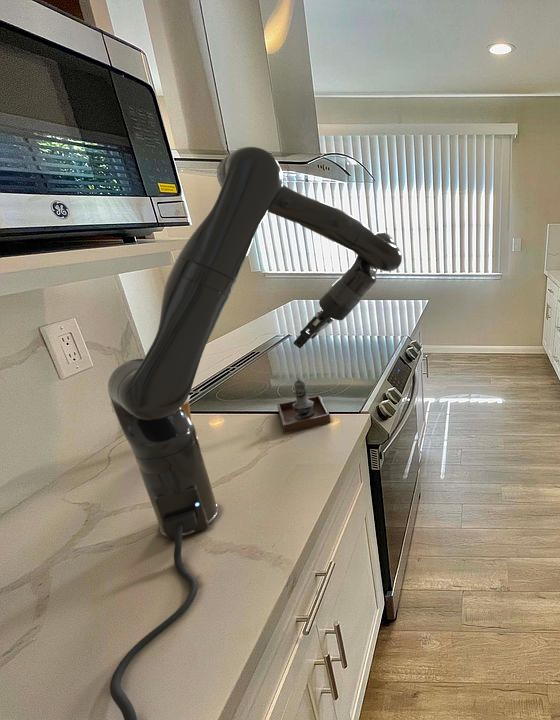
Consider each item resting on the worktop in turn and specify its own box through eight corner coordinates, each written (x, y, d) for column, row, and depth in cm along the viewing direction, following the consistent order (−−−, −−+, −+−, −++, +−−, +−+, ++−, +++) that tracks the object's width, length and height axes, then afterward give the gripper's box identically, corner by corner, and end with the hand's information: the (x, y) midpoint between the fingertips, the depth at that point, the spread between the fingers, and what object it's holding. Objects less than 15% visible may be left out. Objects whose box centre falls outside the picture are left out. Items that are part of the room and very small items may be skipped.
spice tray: (330, 422, 115) (329, 414, 114) (284, 433, 109) (283, 425, 108) (320, 402, 127) (319, 395, 126) (278, 411, 121) (277, 404, 120)
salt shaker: (301, 421, 114) (294, 383, 110) (290, 415, 117) (283, 378, 113) (319, 414, 118) (313, 377, 114) (308, 408, 121) (302, 372, 117)
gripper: (339, 283, 107) (302, 324, 111) (320, 292, 94) (279, 338, 97) (360, 302, 109) (324, 342, 113) (345, 314, 96) (304, 359, 99)
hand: (303, 340), depth 105 cm, fingers open, 8 cm apart
